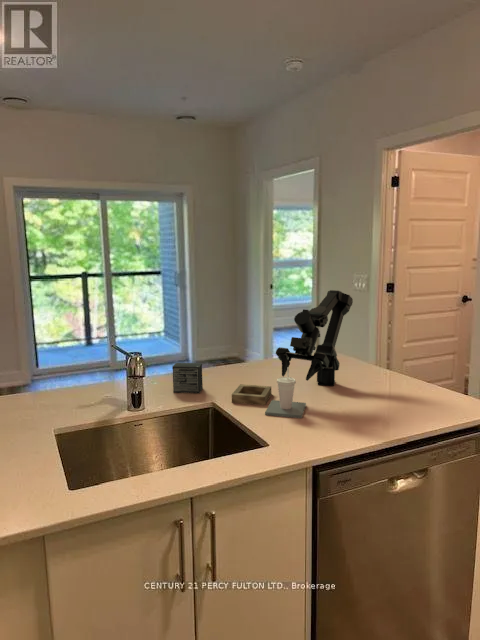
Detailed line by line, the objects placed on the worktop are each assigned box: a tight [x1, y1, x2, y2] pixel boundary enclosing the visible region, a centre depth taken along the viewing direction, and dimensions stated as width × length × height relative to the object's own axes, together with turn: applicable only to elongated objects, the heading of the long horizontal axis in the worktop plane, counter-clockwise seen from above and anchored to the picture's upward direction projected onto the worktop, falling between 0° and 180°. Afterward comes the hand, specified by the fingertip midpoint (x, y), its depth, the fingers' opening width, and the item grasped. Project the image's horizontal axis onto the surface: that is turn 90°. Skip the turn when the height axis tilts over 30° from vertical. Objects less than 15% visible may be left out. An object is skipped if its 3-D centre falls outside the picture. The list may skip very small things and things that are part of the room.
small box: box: [172, 362, 204, 394], centre depth 177 cm, size 11×6×10 cm, turn 84°
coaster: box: [264, 399, 307, 419], centre depth 156 cm, size 12×12×1 cm
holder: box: [231, 384, 272, 406], centre depth 168 cm, size 12×12×3 cm
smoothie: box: [276, 366, 297, 409], centre depth 155 cm, size 6×6×14 cm
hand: (294, 377), depth 160 cm, fingers open, 9 cm apart
